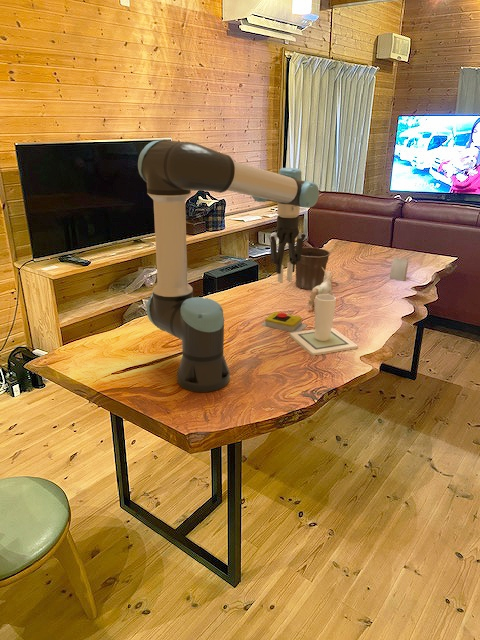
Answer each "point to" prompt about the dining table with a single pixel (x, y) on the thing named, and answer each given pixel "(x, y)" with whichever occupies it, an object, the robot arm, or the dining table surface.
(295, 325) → the emergency button
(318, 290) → the unicorn figurine
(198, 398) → the dining table surface
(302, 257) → the plant pot
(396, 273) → the tea bag
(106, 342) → the dining table surface
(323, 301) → the drinking glass
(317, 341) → the picture board
